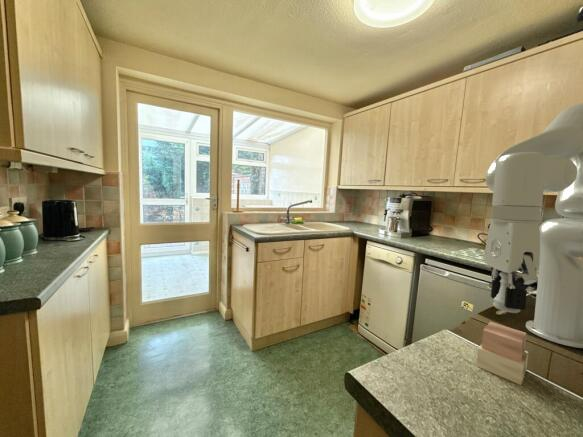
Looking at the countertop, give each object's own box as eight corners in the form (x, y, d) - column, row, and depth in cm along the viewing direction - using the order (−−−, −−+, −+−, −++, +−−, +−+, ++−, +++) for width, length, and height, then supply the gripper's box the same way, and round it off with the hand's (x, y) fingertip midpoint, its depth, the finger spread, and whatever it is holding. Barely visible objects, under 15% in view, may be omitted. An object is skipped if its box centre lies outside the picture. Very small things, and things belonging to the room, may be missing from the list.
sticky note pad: (485, 353, 57) (487, 320, 56) (526, 370, 52) (530, 333, 51) (476, 366, 52) (479, 329, 52) (521, 385, 47) (525, 344, 47)
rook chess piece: (526, 314, 49) (530, 274, 48) (500, 312, 49) (504, 272, 49) (511, 305, 53) (514, 269, 52) (487, 303, 54) (490, 267, 53)
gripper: (474, 213, 59) (468, 288, 60) (519, 216, 43) (509, 318, 44) (511, 215, 57) (504, 292, 58) (573, 218, 41) (562, 325, 42)
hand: (506, 302), depth 51 cm, fingers closed on rook chess piece, 4 cm apart
